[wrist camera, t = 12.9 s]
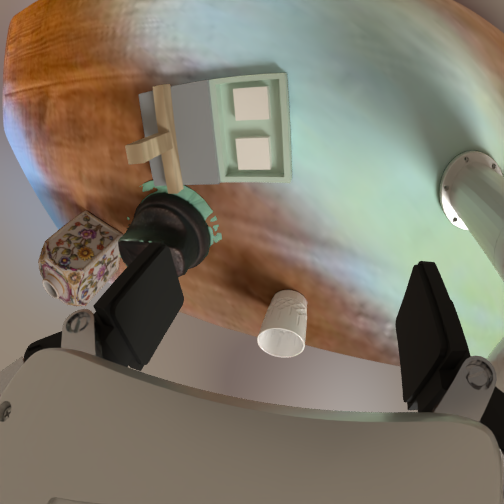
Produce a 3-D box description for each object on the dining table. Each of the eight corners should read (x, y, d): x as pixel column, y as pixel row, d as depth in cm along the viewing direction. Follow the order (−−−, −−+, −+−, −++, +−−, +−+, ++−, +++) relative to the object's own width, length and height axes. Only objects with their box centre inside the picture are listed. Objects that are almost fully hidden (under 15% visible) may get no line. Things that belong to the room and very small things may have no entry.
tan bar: (172, 83, 32) (133, 87, 24) (185, 188, 40) (154, 215, 33) (158, 86, 32) (117, 91, 25) (172, 188, 41) (139, 214, 34)
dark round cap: (146, 271, 58) (124, 299, 50) (116, 186, 47) (84, 208, 40) (231, 276, 52) (214, 310, 45) (209, 173, 42) (182, 196, 34)
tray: (287, 73, 30) (285, 72, 29) (292, 177, 39) (290, 182, 37) (214, 79, 33) (208, 79, 31) (225, 177, 41) (220, 182, 39)
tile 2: (235, 138, 35) (238, 136, 37) (238, 169, 38) (241, 166, 39) (268, 137, 34) (270, 135, 36) (270, 169, 37) (272, 166, 38)
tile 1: (232, 88, 32) (236, 88, 33) (235, 120, 34) (238, 119, 35) (266, 86, 30) (269, 86, 32) (269, 119, 33) (271, 118, 34)
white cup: (285, 322, 55) (276, 362, 47) (260, 297, 53) (247, 337, 45) (318, 307, 51) (313, 349, 43) (293, 280, 49) (284, 321, 41)
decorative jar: (85, 207, 52) (27, 253, 37) (125, 233, 53) (68, 288, 38) (83, 246, 59) (35, 292, 45) (119, 270, 60) (73, 323, 45)
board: (214, 79, 33) (206, 79, 30) (225, 177, 41) (218, 184, 39) (149, 92, 36) (138, 94, 33) (163, 179, 44) (154, 186, 41)
